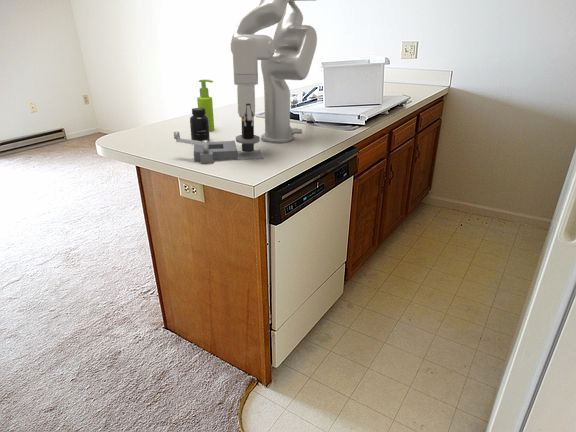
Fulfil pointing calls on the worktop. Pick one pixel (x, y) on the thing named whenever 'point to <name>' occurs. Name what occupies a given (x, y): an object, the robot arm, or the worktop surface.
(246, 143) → the plug
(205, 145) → the clip
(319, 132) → the worktop surface
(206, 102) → the soap dispenser
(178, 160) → the worktop surface
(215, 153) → the grey flat block
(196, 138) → the supplement bottle
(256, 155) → the mat
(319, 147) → the worktop surface
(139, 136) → the worktop surface
